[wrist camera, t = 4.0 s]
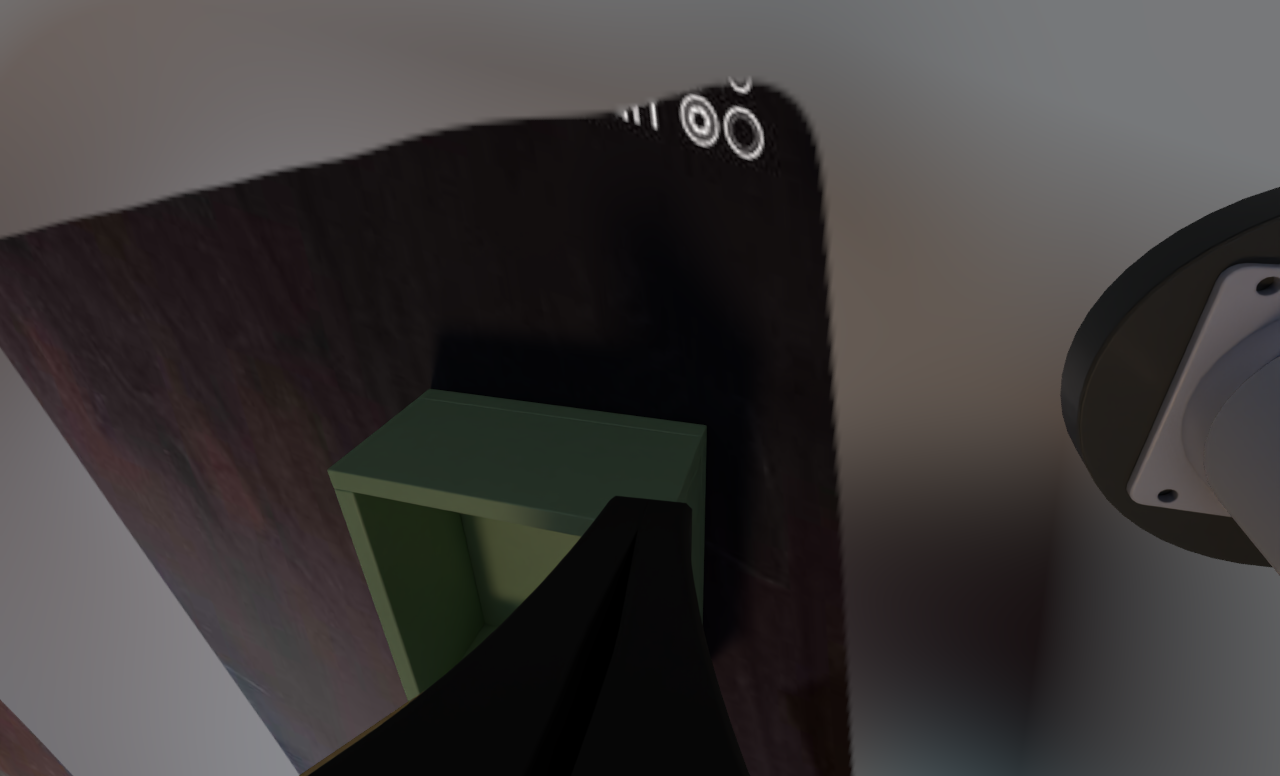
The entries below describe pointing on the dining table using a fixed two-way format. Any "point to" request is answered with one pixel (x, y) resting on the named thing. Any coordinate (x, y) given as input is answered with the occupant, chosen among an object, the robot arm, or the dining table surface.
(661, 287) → the dining table surface
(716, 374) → the dining table surface
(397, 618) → the green open cubby
